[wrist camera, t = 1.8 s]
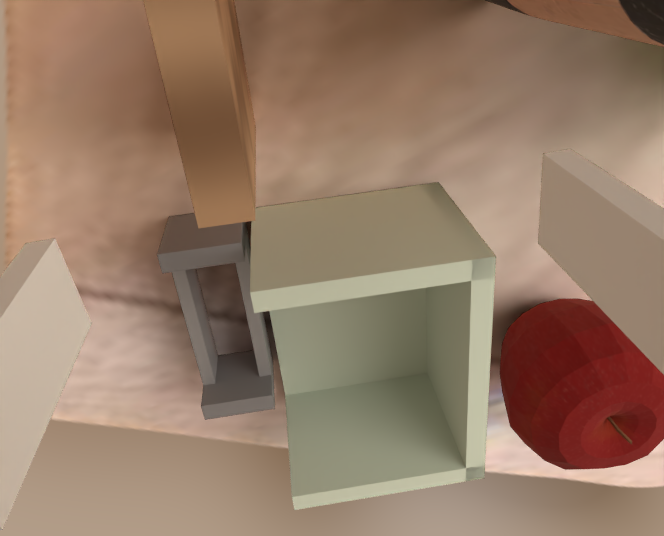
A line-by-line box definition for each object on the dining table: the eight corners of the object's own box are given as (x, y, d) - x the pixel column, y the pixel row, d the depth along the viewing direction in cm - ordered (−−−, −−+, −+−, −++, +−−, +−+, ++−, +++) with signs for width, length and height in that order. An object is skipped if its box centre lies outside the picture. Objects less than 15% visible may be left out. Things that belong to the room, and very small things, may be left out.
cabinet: (168, 216, 35) (140, 304, 27) (438, 179, 36) (496, 252, 27) (220, 408, 43) (211, 523, 35) (439, 374, 44) (484, 478, 36)
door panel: (173, -20, 29) (120, 2, 18) (229, -27, 29) (213, -9, 18) (205, 133, 33) (180, 230, 22) (255, 127, 33) (255, 220, 22)
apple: (580, 237, 40) (691, 337, 29) (632, 332, 44) (743, 446, 34) (446, 322, 42) (507, 442, 32) (509, 403, 47) (580, 529, 37)
